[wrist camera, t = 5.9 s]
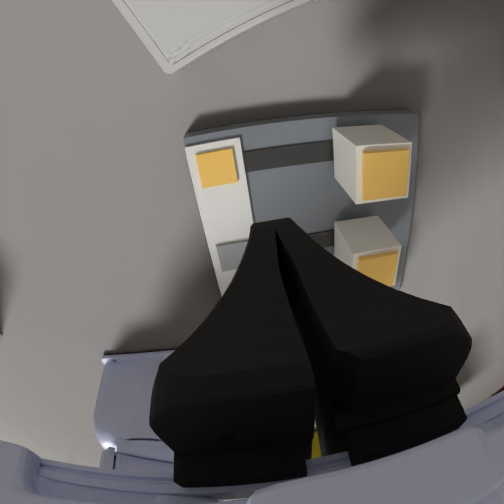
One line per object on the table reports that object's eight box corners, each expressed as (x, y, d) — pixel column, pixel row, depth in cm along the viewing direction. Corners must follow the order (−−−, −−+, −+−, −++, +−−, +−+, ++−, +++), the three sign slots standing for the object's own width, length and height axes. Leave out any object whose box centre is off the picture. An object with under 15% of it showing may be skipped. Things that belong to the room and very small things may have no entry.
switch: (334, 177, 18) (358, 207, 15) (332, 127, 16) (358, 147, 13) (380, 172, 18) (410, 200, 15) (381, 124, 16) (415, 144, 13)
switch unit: (232, 325, 27) (233, 339, 25) (185, 133, 18) (182, 140, 16) (390, 296, 27) (397, 308, 25) (409, 109, 17) (422, 115, 16)
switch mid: (334, 260, 21) (351, 298, 18) (334, 221, 20) (354, 257, 17) (374, 252, 21) (396, 288, 18) (377, 215, 20) (403, 248, 17)
